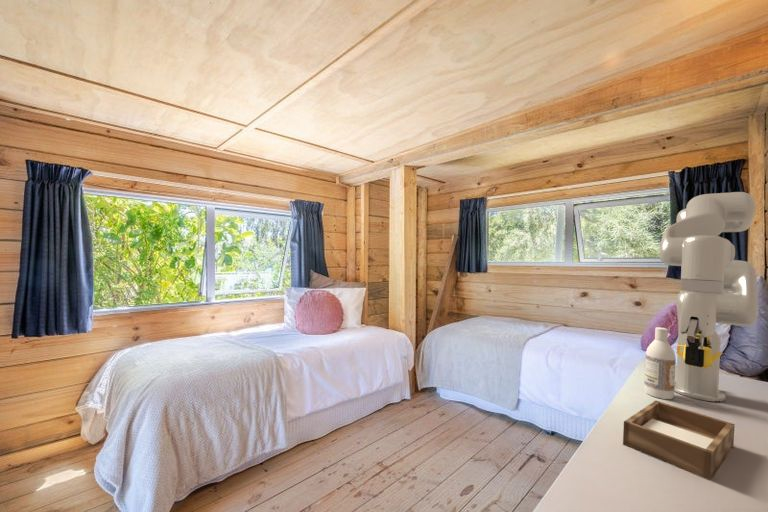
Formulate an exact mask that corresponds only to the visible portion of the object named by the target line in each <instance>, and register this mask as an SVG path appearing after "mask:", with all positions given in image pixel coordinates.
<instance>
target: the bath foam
mask: <svg viewBox="0 0 768 512" xmlns="http://www.w3.org/2000/svg"><path fill="white" fill-rule="evenodd" d="M668 333H669V329H668V328H666V327H660V326H659V327H658V326H657V327H655V329H654V340H653V341H652V342H651V343H650V344H649V345H648V347H647V348H646V351H645V363H644V381H643V383H644V385H643V386H644V389H643V391H644V392H645V393H646V394H647V395H649V396H651V397H653V398H656V399H662V400H672V399H674V397H675V391H674V386H675V382H676V381H675V380H676V364H677V359H676V358H677V357H676V354H675V353H676V352H675V351H674V349H673V347H672V345H671V344H670V342H668V338H669V337H668V336H669V334H668Z"/></svg>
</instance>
